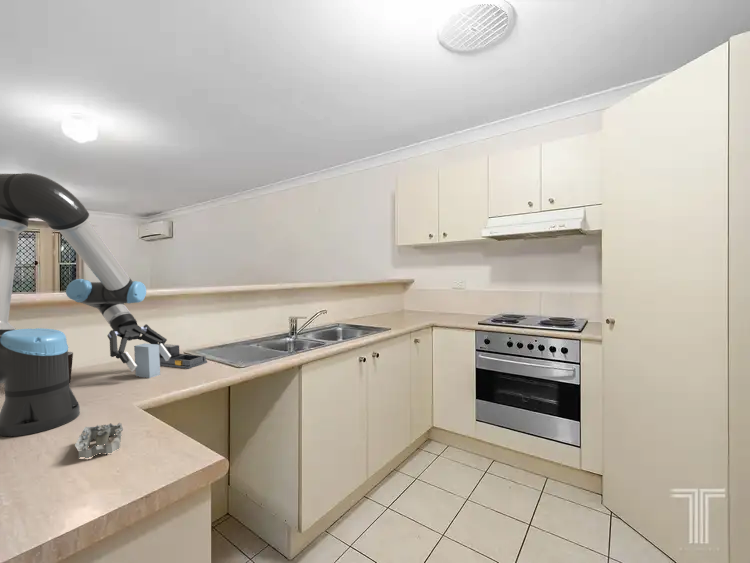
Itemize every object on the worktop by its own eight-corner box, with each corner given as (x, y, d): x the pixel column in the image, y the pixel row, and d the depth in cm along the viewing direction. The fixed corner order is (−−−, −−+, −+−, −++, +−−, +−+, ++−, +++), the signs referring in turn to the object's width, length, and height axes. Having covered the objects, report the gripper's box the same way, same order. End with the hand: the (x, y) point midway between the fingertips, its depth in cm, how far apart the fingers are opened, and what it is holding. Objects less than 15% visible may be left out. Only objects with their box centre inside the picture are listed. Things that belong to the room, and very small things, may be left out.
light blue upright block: (149, 378, 122) (148, 347, 121) (135, 376, 124) (134, 345, 124) (160, 374, 126) (158, 344, 125) (146, 372, 128) (145, 343, 128)
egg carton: (119, 454, 73) (118, 435, 72) (72, 465, 69) (71, 445, 69) (125, 433, 82) (124, 416, 82) (84, 441, 78) (83, 423, 78)
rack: (188, 368, 132) (187, 350, 132) (148, 364, 140) (148, 347, 139) (207, 362, 141) (206, 345, 140) (168, 358, 148) (168, 342, 148)
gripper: (147, 321, 141) (177, 361, 137) (78, 332, 118) (111, 381, 114) (156, 308, 139) (186, 348, 134) (88, 317, 116) (122, 366, 112)
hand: (152, 363), depth 124 cm, fingers open, 12 cm apart
